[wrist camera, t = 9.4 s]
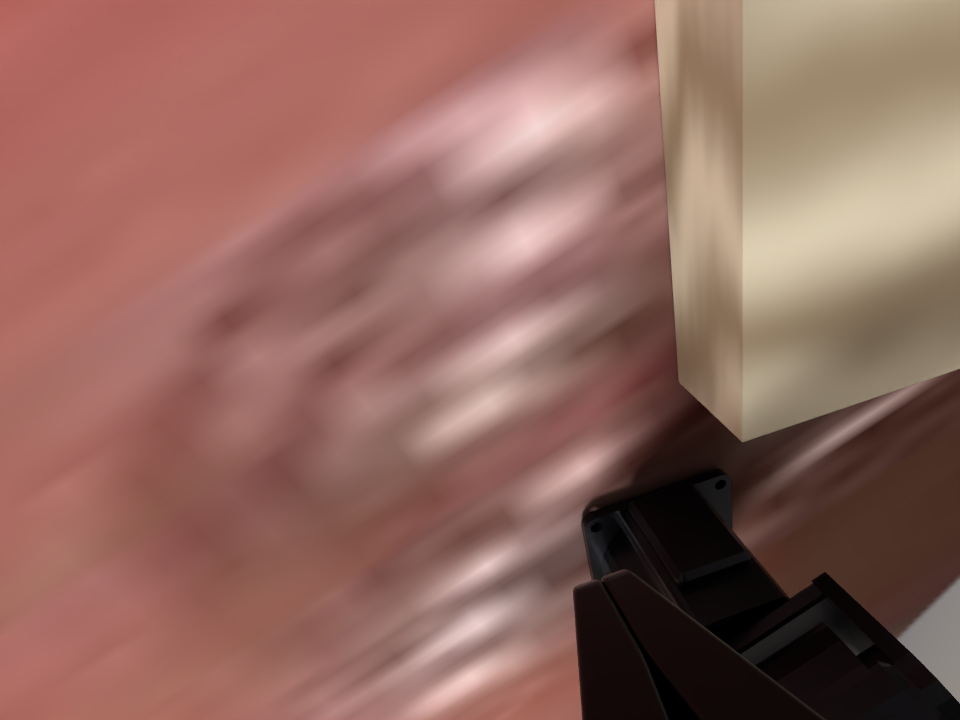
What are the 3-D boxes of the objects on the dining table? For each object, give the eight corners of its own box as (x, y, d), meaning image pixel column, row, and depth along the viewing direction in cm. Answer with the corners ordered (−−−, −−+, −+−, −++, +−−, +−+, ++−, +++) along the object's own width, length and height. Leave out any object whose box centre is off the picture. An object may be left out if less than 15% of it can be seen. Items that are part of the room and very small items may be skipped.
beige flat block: (935, 298, 24) (1040, 340, 20) (678, 382, 23) (742, 442, 19) (1074, -481, 14) (1325, -658, 10) (629, -393, 13) (743, -558, 9)
